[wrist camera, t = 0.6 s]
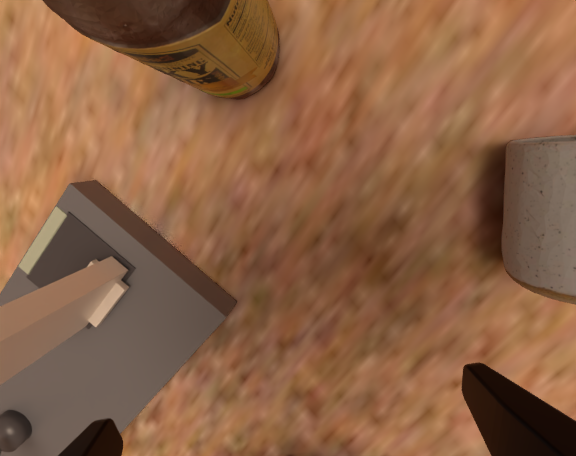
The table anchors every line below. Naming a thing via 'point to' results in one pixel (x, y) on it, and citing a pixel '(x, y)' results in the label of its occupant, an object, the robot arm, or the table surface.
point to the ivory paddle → (57, 313)
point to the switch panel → (104, 324)
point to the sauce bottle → (186, 38)
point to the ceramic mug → (541, 215)
